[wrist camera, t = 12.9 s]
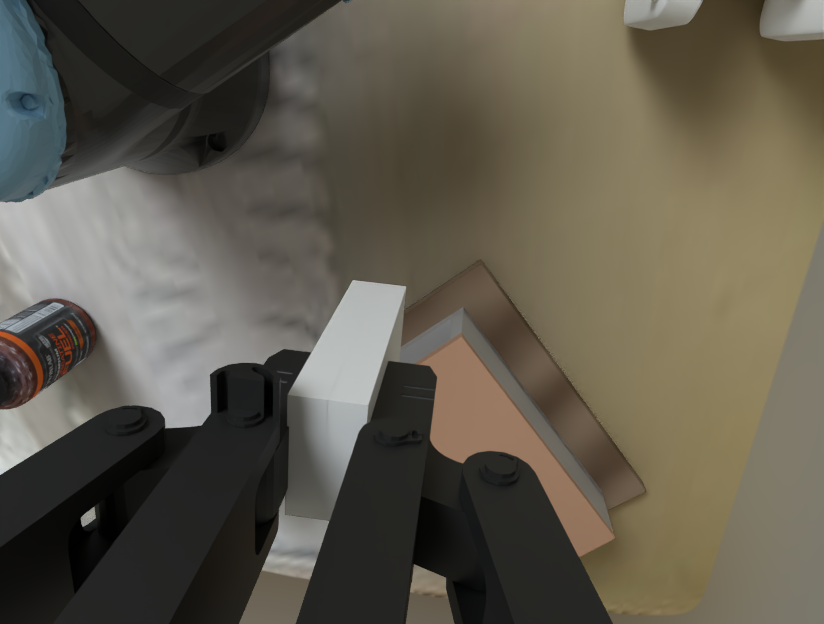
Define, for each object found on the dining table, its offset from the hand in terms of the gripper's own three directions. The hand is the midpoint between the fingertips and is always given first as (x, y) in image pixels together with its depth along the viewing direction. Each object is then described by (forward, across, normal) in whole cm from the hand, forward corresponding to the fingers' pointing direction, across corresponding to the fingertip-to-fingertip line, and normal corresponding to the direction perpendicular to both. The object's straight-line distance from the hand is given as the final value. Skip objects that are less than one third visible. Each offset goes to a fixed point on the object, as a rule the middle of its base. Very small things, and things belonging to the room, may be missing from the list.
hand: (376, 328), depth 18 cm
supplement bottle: (+31, -30, -17) cm, 46 cm away
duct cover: (+24, +6, -21) cm, 32 cm away
